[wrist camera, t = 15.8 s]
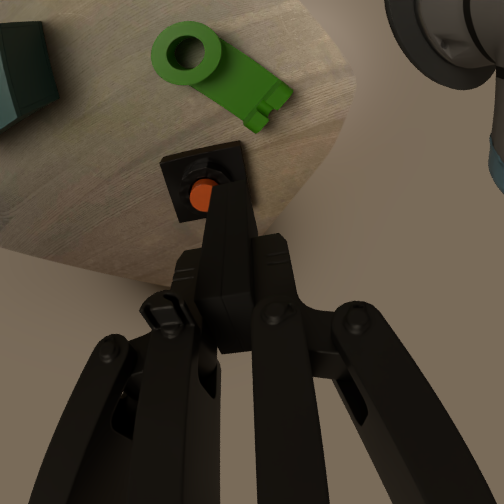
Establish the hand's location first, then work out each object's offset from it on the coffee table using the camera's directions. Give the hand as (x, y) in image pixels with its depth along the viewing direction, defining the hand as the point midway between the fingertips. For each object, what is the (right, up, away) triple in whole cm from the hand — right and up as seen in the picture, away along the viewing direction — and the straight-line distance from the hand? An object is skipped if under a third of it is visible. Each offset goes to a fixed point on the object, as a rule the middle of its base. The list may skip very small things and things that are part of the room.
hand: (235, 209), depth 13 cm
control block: (-5, +8, +24) cm, 26 cm away
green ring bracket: (-3, +19, +16) cm, 25 cm away
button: (-5, +5, +22) cm, 23 cm away
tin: (-33, +22, +11) cm, 41 cm away
